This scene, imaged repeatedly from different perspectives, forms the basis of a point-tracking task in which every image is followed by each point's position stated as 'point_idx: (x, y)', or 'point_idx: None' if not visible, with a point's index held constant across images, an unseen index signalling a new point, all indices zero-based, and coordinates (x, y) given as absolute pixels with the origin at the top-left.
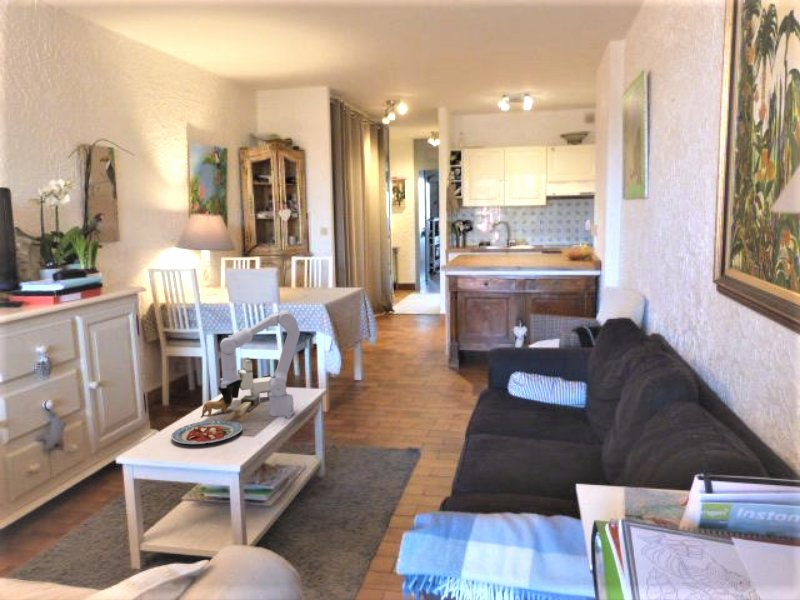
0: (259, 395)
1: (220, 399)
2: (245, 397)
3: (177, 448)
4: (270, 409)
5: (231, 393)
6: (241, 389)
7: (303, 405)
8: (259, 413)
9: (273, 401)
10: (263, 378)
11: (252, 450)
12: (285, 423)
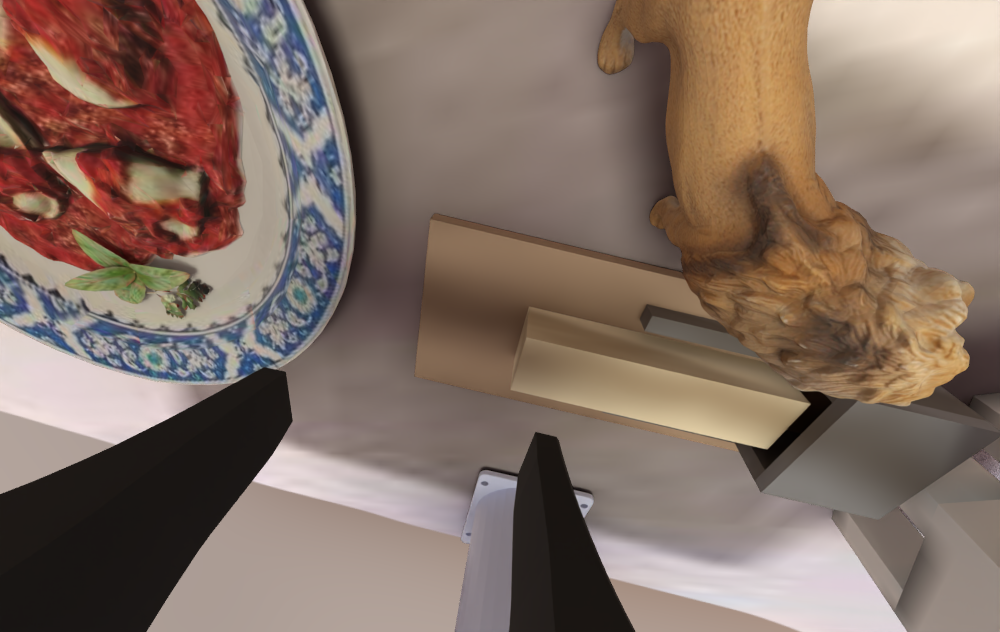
0: (908, 514)
1: (763, 209)
2: (900, 434)
3: None
4: (497, 528)
5: (160, 586)
6: None
7: (662, 587)
8: (600, 436)
9: (462, 608)
10: None
11: (21, 410)
12: (390, 518)
